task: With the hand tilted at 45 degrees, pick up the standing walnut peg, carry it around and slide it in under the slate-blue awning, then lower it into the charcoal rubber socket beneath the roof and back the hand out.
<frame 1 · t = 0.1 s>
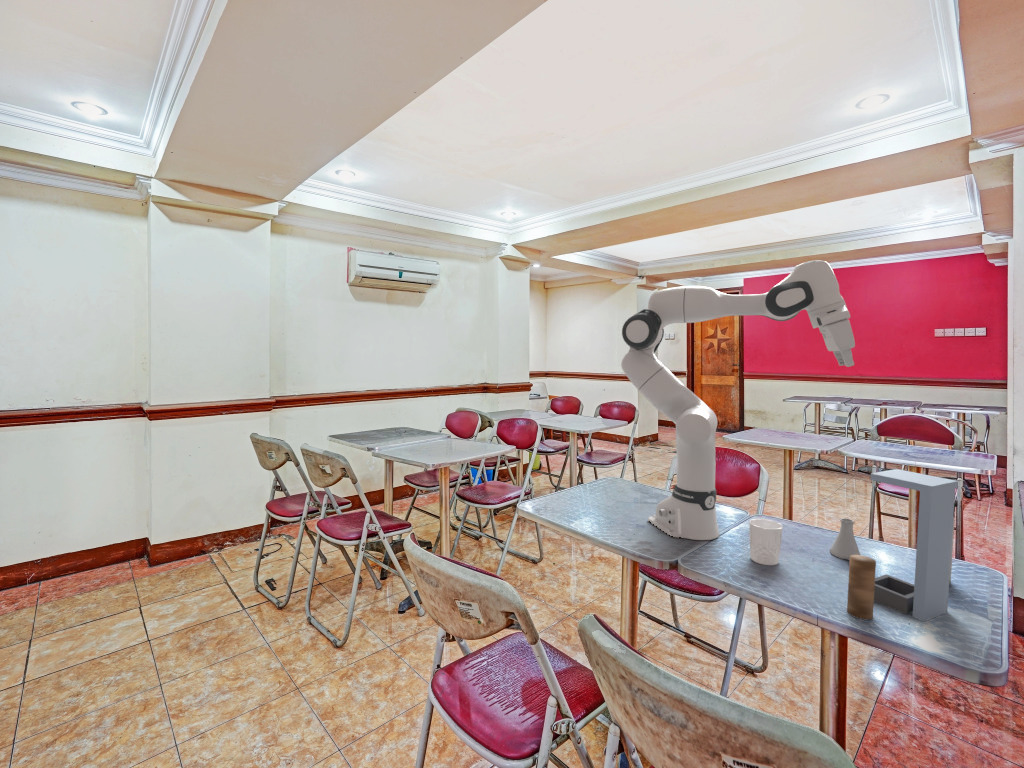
hand: (846, 365, 131), 52 cm above the table, tool tilted 20°, fingers open, 8 cm apart
awning: (896, 600, 109), on the table
flask: (845, 556, 133), on the table
white cup: (764, 560, 130), on the table
travel mug: (934, 580, 119), on the table
socket: (895, 601, 109), on the table
peg: (859, 613, 104), on the table
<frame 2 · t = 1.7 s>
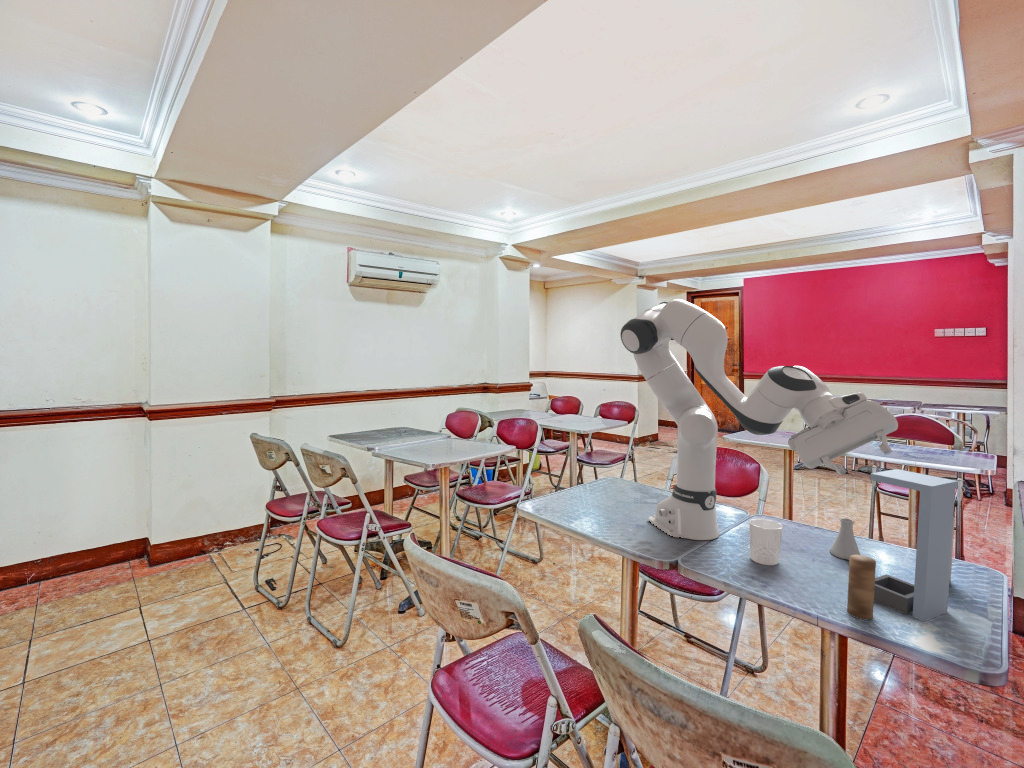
hand: (865, 462, 104), 32 cm above the table, tool tilted 55°, fingers open, 8 cm apart
nothing on the table moved.
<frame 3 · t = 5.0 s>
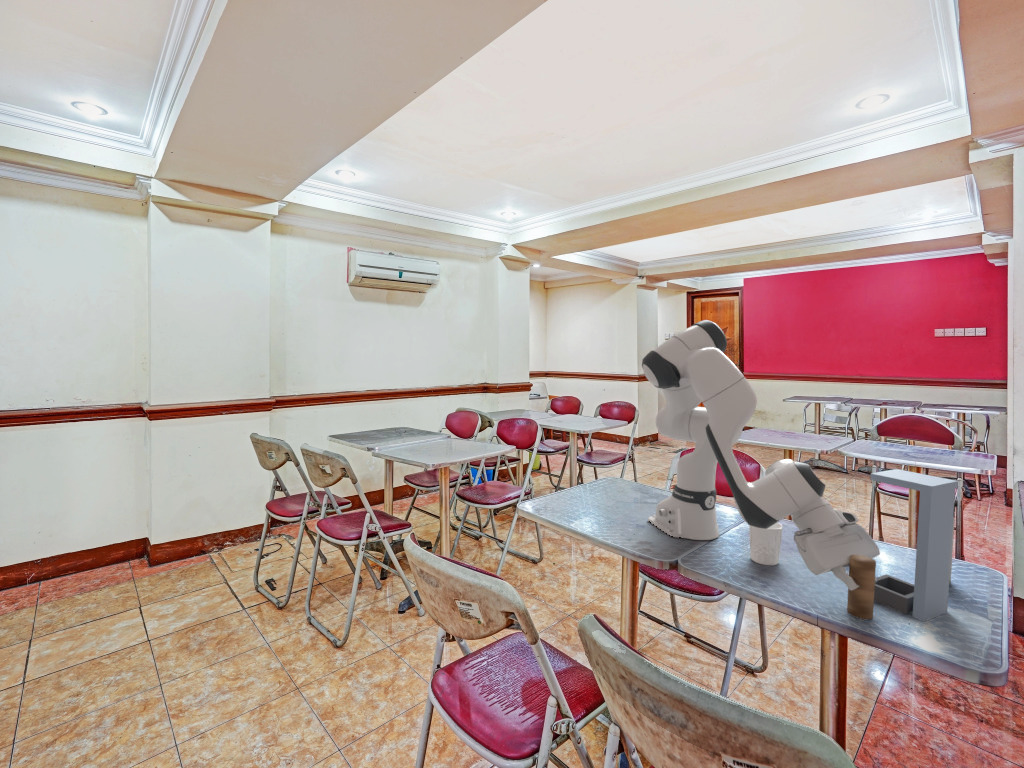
hand: (864, 586, 103), 6 cm above the table, tool tilted 45°, fingers closed on peg, 4 cm apart
peg: (859, 613, 104), on the table, touching gripper
everything else where it was.
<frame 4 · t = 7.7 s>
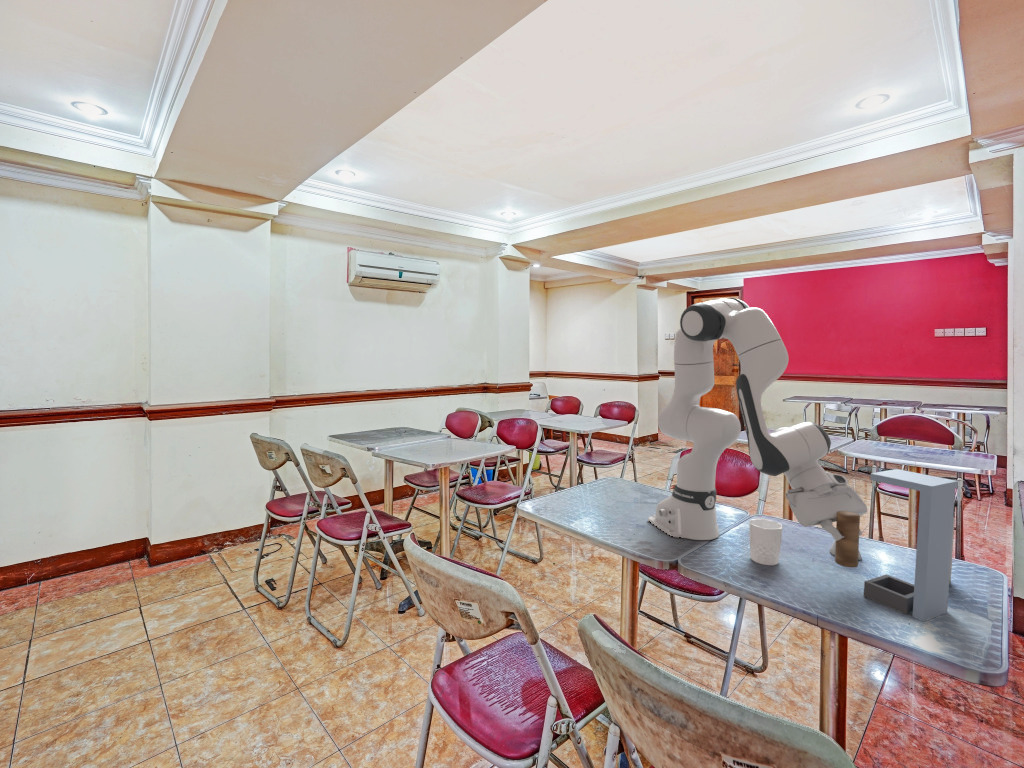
hand: (849, 537, 115), 12 cm above the table, tool tilted 45°, fingers closed on peg, 4 cm apart
peg: (846, 563, 116), point 5 cm above the table, touching gripper
everything else where it was.
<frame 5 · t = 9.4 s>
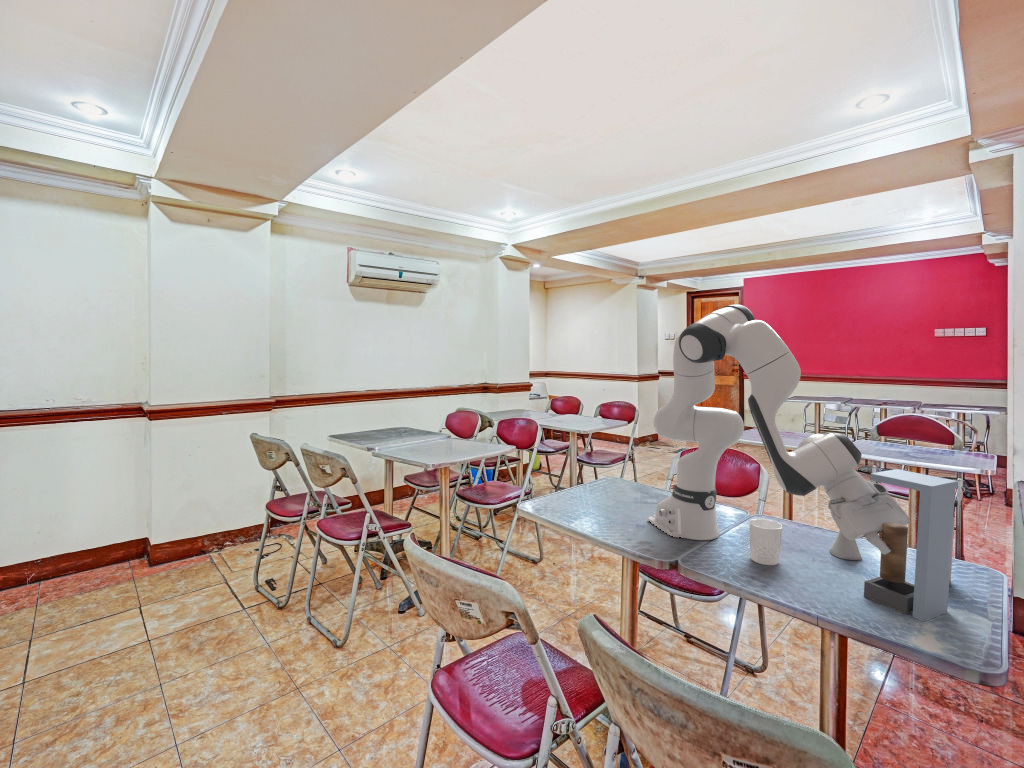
hand: (896, 551, 108), 12 cm above the table, tool tilted 45°, fingers closed on peg, 4 cm apart
peg: (892, 578, 109), point 5 cm above the table, touching gripper
everything else where it was.
when the fingers open (8 cm above the table, at t = 10.9 s): peg stays where it is, resting on socket.
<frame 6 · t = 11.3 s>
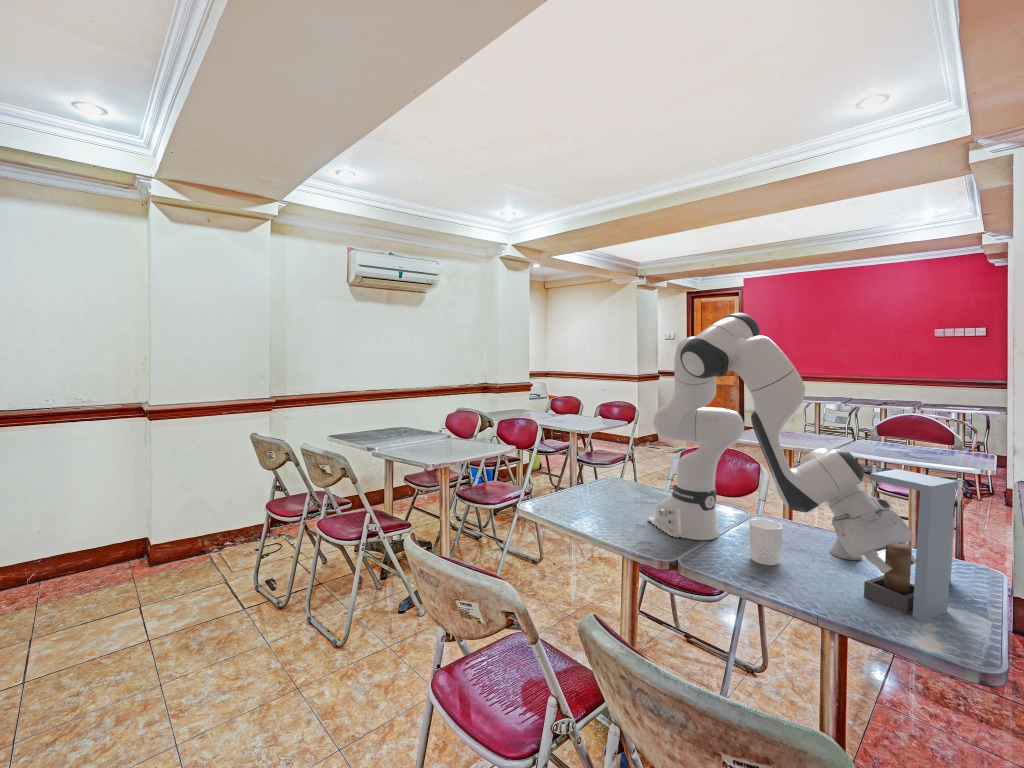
hand: (900, 568, 108), 8 cm above the table, tool tilted 45°, fingers open, 8 cm apart
peg: (895, 598, 109), point 1 cm above the table, touching socket
everything else where it was.
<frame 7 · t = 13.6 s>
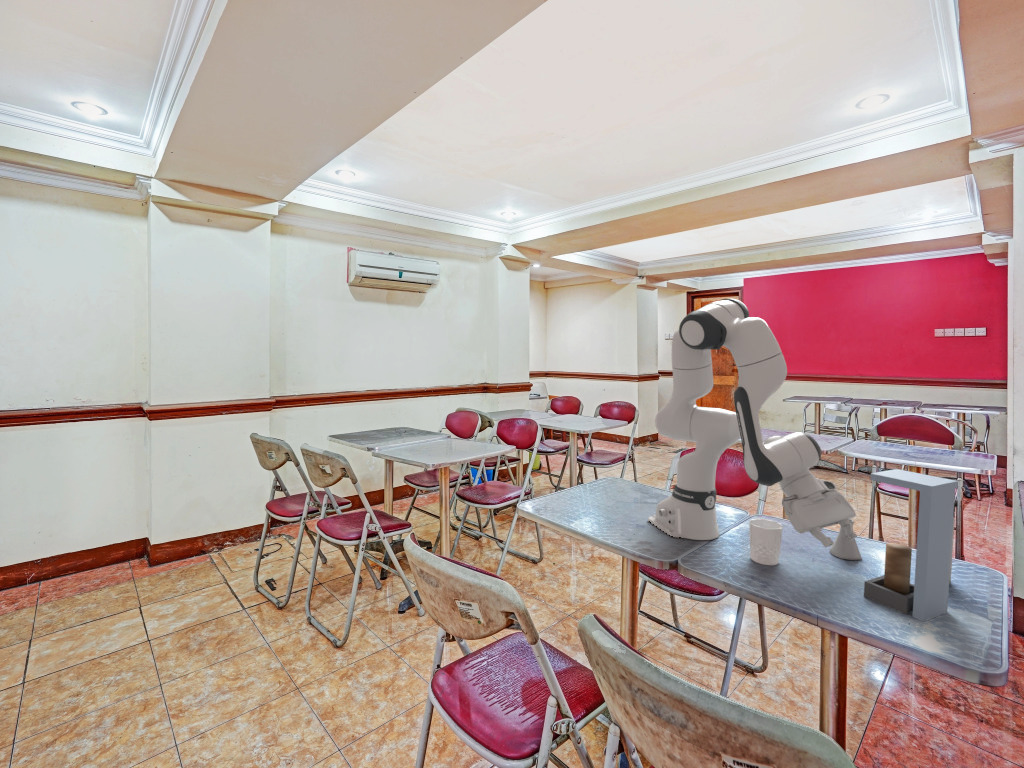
hand: (841, 542, 120), 9 cm above the table, tool tilted 45°, fingers open, 8 cm apart
nothing on the table moved.
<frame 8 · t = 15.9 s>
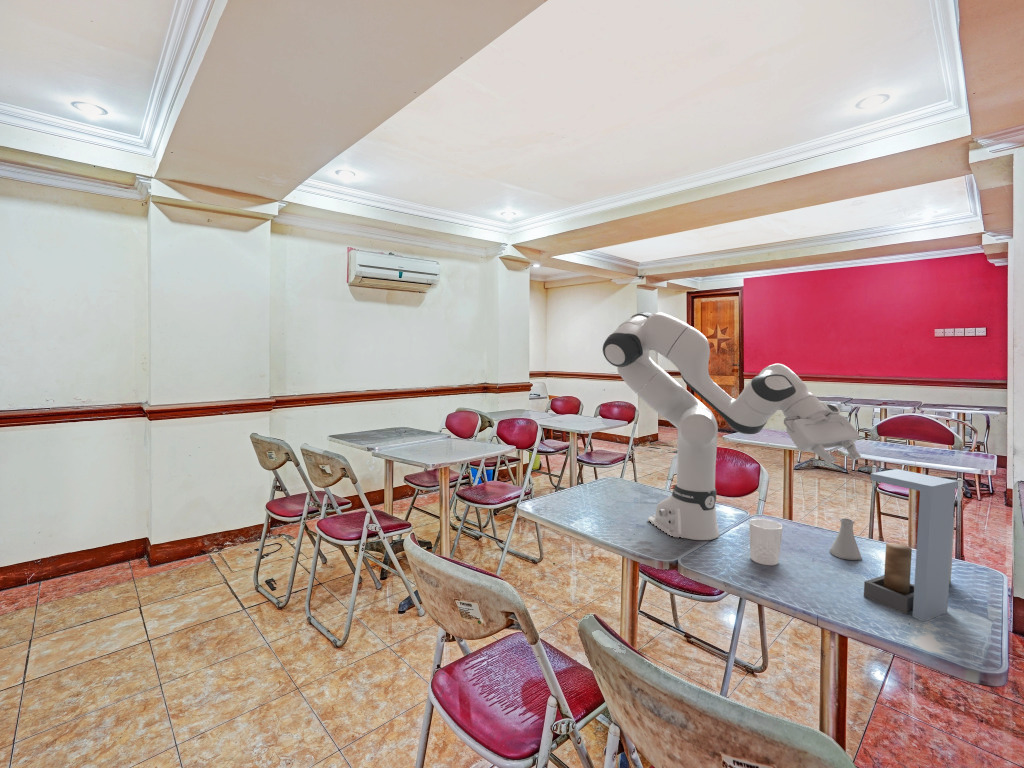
hand: (844, 460, 118), 29 cm above the table, tool tilted 45°, fingers open, 8 cm apart
nothing on the table moved.
at the end: peg 0.0 cm off-centre on the socket, point 0.5 cm above the socket's base; peg tilted 0°; the gripper is holding nothing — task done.
